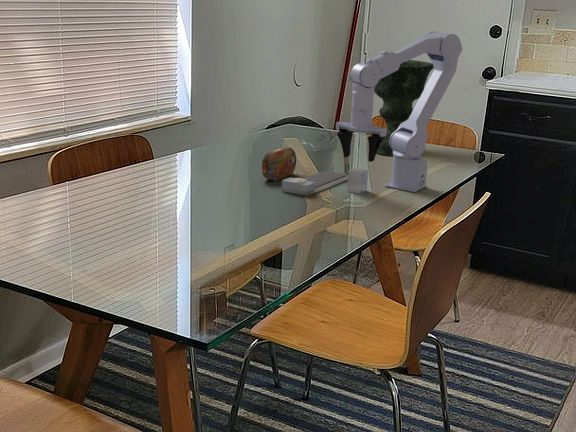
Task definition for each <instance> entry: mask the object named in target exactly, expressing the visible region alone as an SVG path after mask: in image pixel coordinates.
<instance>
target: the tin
mask: <svg viewBox="0 0 576 432" xmlns="http://www.w3.org/2000/svg"><path fill="white" fill-rule="evenodd" d="M296 164H297V155H296V152H295V150H294V149H293V148H292V147H281V148H278V149H275V150H272V151H268V152H266V154H265V155H264V156H263V159H262V161H261V171H262V176H263V177H264V178H265V180H268V181H273V182H276V181H280V180H281V179H282V180H283V179H286V178H288V177H289V176H292V174H293V173H294V172H295V169H296V166H297V165H296Z"/></svg>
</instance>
